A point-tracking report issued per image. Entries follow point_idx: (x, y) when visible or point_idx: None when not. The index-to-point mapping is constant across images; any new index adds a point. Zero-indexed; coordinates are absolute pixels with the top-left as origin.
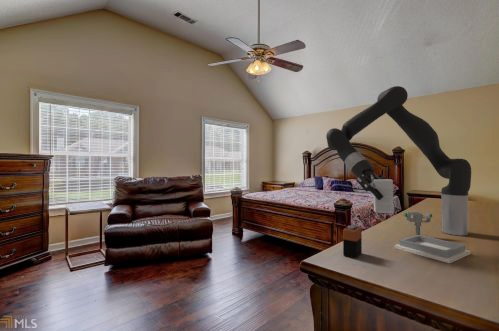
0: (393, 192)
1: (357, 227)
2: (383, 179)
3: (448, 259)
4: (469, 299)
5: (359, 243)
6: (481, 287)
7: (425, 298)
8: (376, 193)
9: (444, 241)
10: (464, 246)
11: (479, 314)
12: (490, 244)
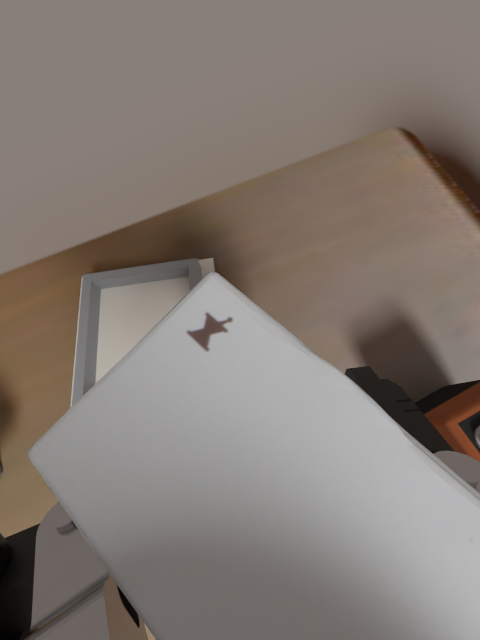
0: None
1: (477, 420)
2: (185, 533)
3: (209, 261)
4: (362, 162)
5: (439, 399)
6: (291, 178)
7: (439, 184)
8: (419, 415)
9: (88, 320)
10: (89, 275)
11: (396, 137)
12: None
